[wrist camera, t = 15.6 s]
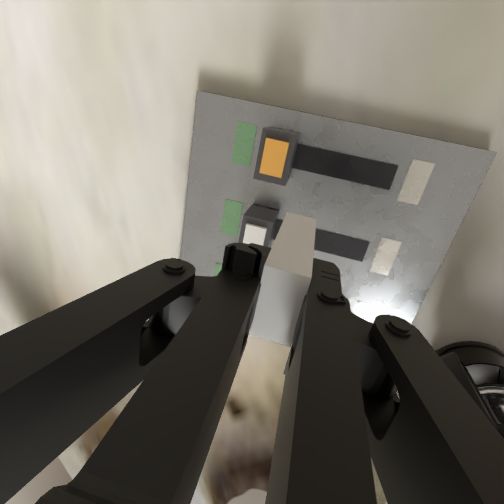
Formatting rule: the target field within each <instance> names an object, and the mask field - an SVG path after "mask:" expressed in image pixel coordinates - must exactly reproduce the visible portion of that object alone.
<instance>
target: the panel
mask: <svg viewBox="0 0 504 504" xmlns="http://www.w3.org/2000/svg"><path fill="white" fill-rule="evenodd" d="M269 126H271V127H275V128H280V129H285V130H289V131H294V132H299V133H300V136H299V141H298V145H297V149H296V153H295V158H294V162H293V166H292V170H291V175H290V179H289V180H288V182H287V184H286V186H282V185H278V184H274V183H270V182H265V181H261V180H257V179H253V177H254V172H255V167H256V161H257V156H258V151H259V145H260V140H261V134H262V129H263V128H264V127H269ZM496 153H497V152H494V151H489V150H484V149H479V148H474V147H470V146H465V145H460V144H455V143H450V142H445V141H440V140H436V139H431V138H426V137H421V136H416V135H411V134H406V133H402V132H397V131H392V130H387V129H382V128H377V127H373V126H368V125H363V124H358V123H353V122H348V121H343V120H339V119H334V118H329V117H324V116H319V115H314V114H309V113H305V112H300V111H295V110H290V109H285V108H280V107H275V106H271V105H266V104H261V103H256V102H251V101H246V100H241V99H237V98H232V97H227V96H222V95H217V94H212V93H208V92H203V91H198V90H197V97H196V107H195V117H194V127H193V137H192V147H191V157H190V167H189V177H188V187H187V197H186V207H185V217H184V227H183V237H182V247H181V257H180V259H181V260H184V261H187V262H189V263H191V264H192V265H193V266H194V267H195V268H196V270H195V275H197V276H217V275H218V273H219V272H220V271H221V269H222V263H223V257H224V251H225V246H226V245H228V244H231V243H238V242H239V236H240V231H241V225H242V220H243V215H244V214H245V212H246V211H247V210H248V209H249V207H250V206H251V205H256V206H260V207H264V208H268V209H272V210H276V211H279V213H278V218H277V222H276V226H275V231H274V235H273V239H272V244H271V248H272V246H273V244H274V241H275V239H276V237H277V234H278V232H279V230H280V227H281V225H282V222H283V220H284V218H285V215H286V213H287V212H289V213H293V214H297V215H302V216H306V217H310V218H314V219H316V231H315V243H314V255H313V258H317V259H320V260H324V261H328V262H332V263H335V265H336V266H337V267H338V268H339V269H340V277H341V287H342V294H343V295H344V296H345V297H346V298H347V299H348V301H349V303H350V308H351V312H353V313H354V314H355V315H357V316H359V317H361V318H363V319H365V320H367V321H370V322H372V323H373V322H374V320H375V318H376V316H378V315H381V314H382V315H392V316H397V317H400V318H401V319H405V320H406V321H407V322H409V323H410V324H411V323H412V321H413V319H414V317H415V315H416V313H417V311H418V309H419V307H420V305H421V303H422V301H423V299H424V297H425V295H426V293H427V291H428V289H429V287H430V285H431V283H432V281H433V279H434V277H435V275H436V273H437V271H438V269H439V267H440V265H441V263H442V261H443V259H444V257H445V255H446V253H447V251H448V249H449V247H450V245H451V243H452V241H453V239H454V237H455V235H456V233H457V231H458V229H459V227H460V225H461V223H462V221H463V219H464V217H465V215H466V213H467V211H468V209H469V207H470V205H471V203H472V201H473V199H474V197H475V195H476V193H477V191H478V189H479V187H480V185H481V183H482V181H483V179H484V177H485V175H486V173H487V171H488V169H489V167H490V165H491V163H492V161H493V159H494V157H495V155H496Z"/></svg>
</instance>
